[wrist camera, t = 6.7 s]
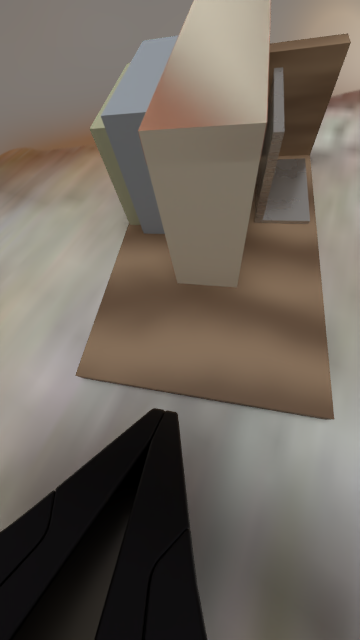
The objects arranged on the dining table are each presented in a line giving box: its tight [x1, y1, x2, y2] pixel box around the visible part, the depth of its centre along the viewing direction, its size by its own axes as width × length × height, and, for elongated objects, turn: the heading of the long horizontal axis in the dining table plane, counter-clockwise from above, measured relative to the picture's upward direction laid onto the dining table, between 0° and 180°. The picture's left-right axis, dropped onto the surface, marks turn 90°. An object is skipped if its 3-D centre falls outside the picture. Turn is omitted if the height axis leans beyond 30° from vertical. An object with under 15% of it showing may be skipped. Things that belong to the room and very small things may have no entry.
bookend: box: [254, 67, 310, 224], centre depth 17 cm, size 8×4×6 cm, turn 170°
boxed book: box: [138, 0, 271, 287], centre depth 15 cm, size 14×4×10 cm, turn 170°
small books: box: [90, 36, 178, 234], centre depth 18 cm, size 10×5×8 cm, turn 170°
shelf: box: [76, 34, 351, 419], centre depth 16 cm, size 25×16×8 cm, turn 170°
